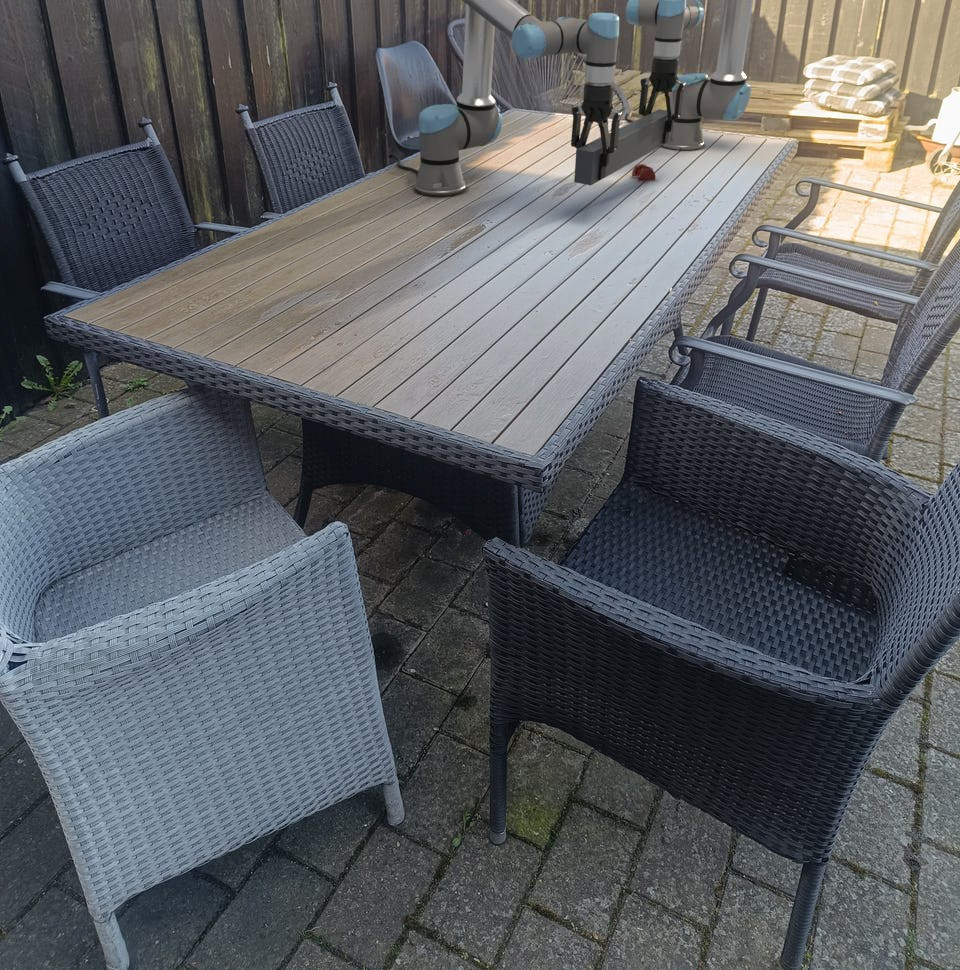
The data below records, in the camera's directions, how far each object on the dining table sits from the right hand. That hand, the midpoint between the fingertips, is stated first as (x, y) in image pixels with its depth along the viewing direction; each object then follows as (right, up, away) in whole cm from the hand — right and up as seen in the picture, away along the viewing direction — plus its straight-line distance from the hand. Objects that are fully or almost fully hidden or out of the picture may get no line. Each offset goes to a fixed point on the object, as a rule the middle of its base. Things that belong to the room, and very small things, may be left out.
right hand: (656, 141), depth 256 cm
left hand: (-24, -21, -29) cm, 43 cm away
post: (-12, -11, -14) cm, 22 cm away
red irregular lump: (-2, -7, +12) cm, 14 cm away
